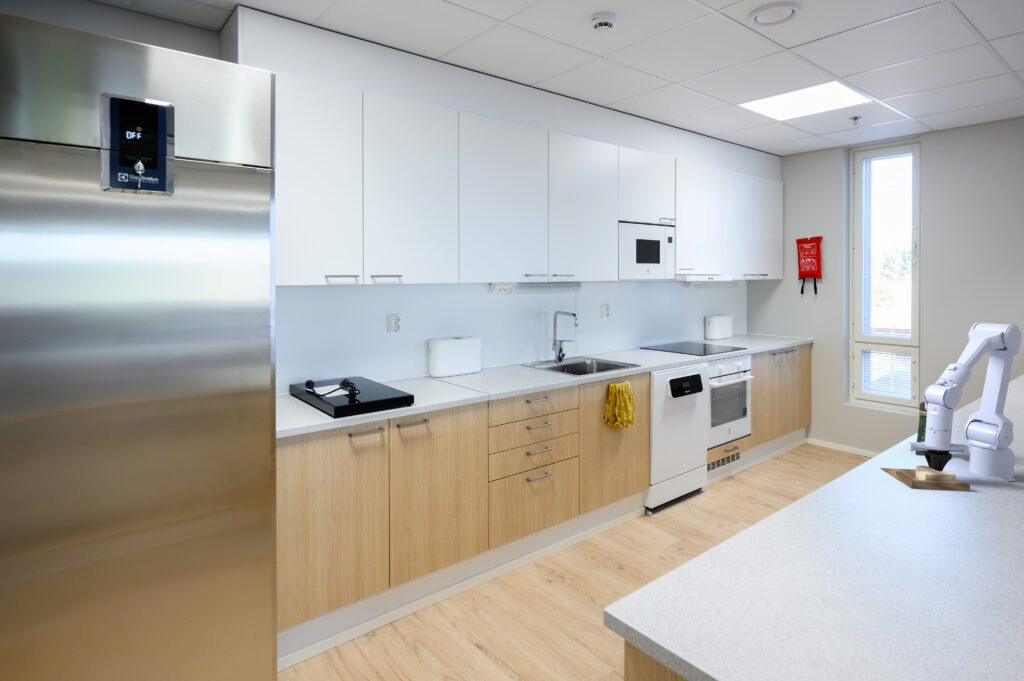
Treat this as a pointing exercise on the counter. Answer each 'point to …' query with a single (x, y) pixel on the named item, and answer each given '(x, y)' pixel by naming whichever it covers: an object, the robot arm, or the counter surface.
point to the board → (925, 481)
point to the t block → (933, 474)
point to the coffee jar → (921, 426)
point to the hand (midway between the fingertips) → (934, 477)
